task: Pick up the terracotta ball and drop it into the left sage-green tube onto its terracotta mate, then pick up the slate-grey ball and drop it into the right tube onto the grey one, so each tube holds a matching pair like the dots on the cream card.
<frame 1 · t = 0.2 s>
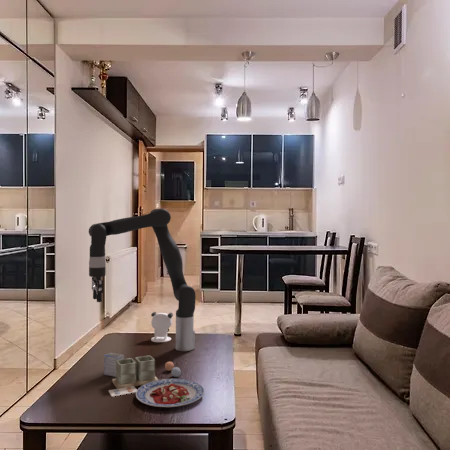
hand: (97, 300, 197), 29 cm above the table, tool pointing down, fingers open, 8 cm apart
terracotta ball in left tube: (144, 373, 174), point 3 cm above the table, touching tube stand
terracotta ball: (169, 366, 186), point 2 cm above the table
white bear shaped stand: (161, 339, 235), on the table
target card: (123, 391, 162), on the table
tube stand: (135, 381, 173), on the table
medicine box: (114, 375, 180), on the table
ceramic plate: (170, 397, 159), on the table
grey ball: (175, 372, 179), point 2 cm above the table
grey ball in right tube: (125, 376, 171), point 3 cm above the table, touching tube stand
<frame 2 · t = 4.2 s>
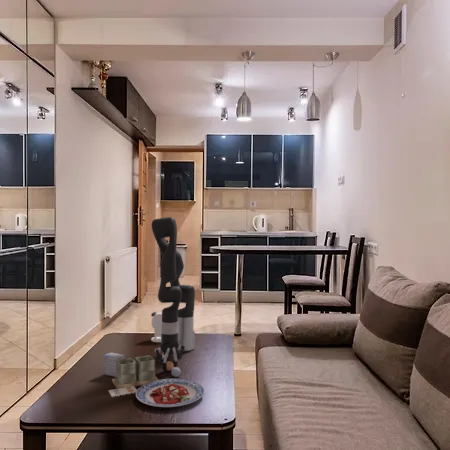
hand: (169, 369, 186), 0 cm above the table, tool pointing down, fingers closed on terracotta ball, 4 cm apart
terracotta ball: (169, 366, 186), point 2 cm above the table, touching gripper
everything else where it was.
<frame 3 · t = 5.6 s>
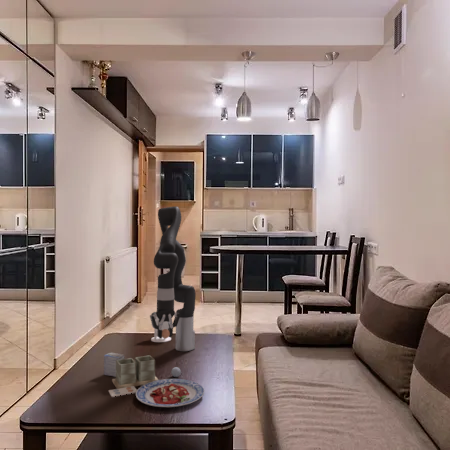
hand: (165, 337, 183), 16 cm above the table, tool pointing down, fingers closed on terracotta ball, 4 cm apart
terracotta ball: (165, 333, 183), point 17 cm above the table, touching gripper
everything else where it was.
when the fingers open (11 cm above the table, at t = 7.1 s): terracotta ball drops 6 cm and tips over, resting on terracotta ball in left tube, tube stand.
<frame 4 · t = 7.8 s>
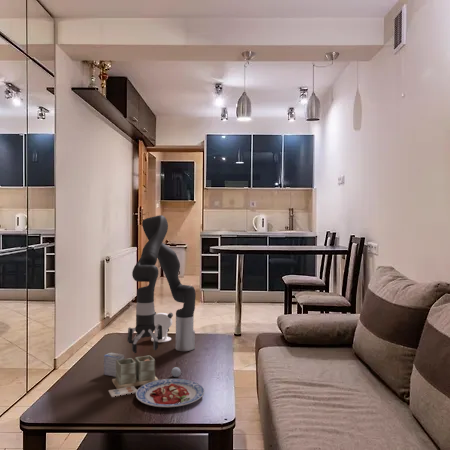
hand: (145, 351, 174), 12 cm above the table, tool pointing down, fingers open, 8 cm apart
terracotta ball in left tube: (144, 372, 175), point 3 cm above the table, tilted 9°, touching terracotta ball, tube stand
terracotta ball: (147, 364, 174), point 7 cm above the table, tilted 49°, touching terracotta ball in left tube, tube stand
everything else where it was.
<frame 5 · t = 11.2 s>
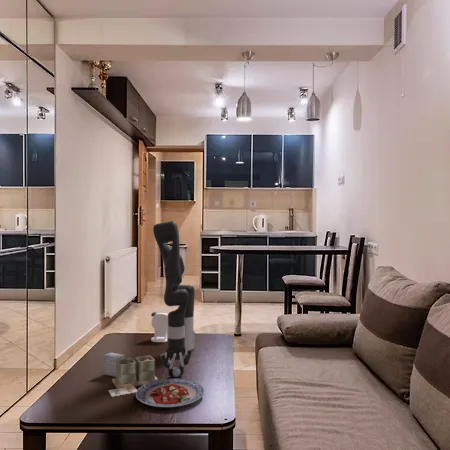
hand: (175, 375, 179), 0 cm above the table, tool pointing down, fingers closed on grey ball, 4 cm apart
grey ball: (175, 372, 179), point 2 cm above the table, touching gripper
everything else where it was.
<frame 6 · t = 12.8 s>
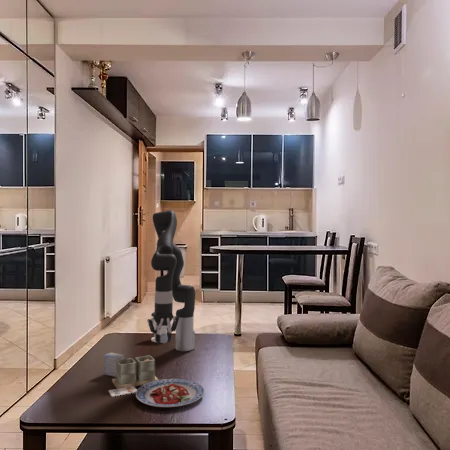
hand: (163, 341, 176), 16 cm above the table, tool pointing down, fingers closed on grey ball, 4 cm apart
grey ball: (163, 338, 176), point 17 cm above the table, touching gripper
everything else where it was.
when the fingers open (11 cm above the table, at t = 14.5 s): grey ball drops 6 cm and tips over, resting on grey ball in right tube, tube stand.
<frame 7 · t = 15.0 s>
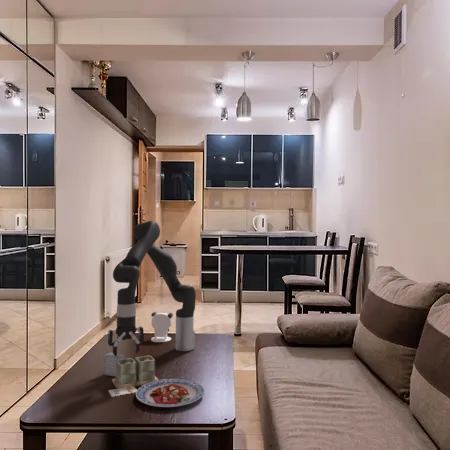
hand: (125, 353, 171), 12 cm above the table, tool pointing down, fingers open, 8 cm apart
grey ball: (128, 367, 170), point 7 cm above the table, tilted 57°, touching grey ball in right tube, tube stand
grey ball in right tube: (125, 375, 171), point 3 cm above the table, tilted 15°, touching grey ball, tube stand
everything else where it was.
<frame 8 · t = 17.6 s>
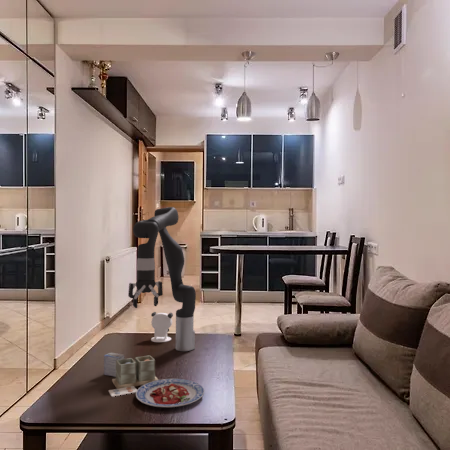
hand: (145, 306, 177), 30 cm above the table, tool pointing down, fingers open, 8 cm apart
nothing on the table moved.
at the end: terracotta ball 1.1 cm from the target spot, point 6.7 cm above the table; grey ball 1.1 cm from the target spot, point 6.7 cm above the table; the gripper is holding nothing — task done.
